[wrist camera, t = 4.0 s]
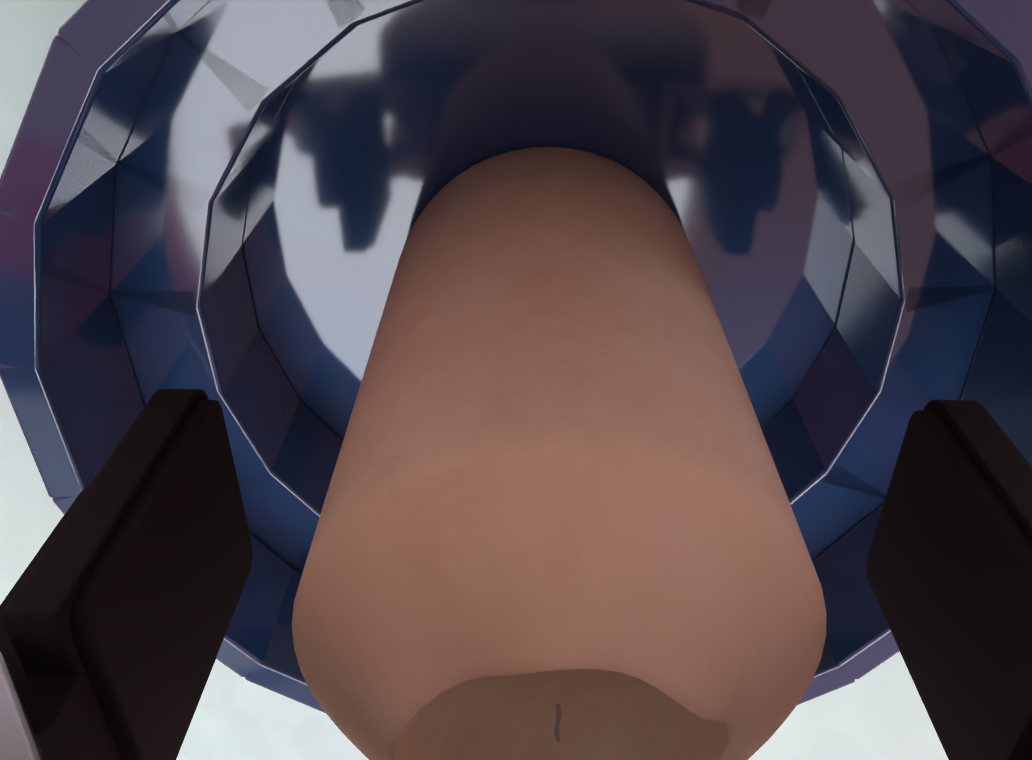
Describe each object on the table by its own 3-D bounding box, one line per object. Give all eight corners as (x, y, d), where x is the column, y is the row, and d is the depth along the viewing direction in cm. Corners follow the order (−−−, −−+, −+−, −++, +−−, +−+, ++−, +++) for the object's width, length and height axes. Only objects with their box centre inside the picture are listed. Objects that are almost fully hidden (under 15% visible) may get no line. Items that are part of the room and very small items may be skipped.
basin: (27, 355, 17) (-133, 523, 13) (413, -496, 10) (335, -712, 6) (607, 647, 22) (626, 840, 18) (1141, 189, 15) (1375, 328, 11)
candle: (610, 439, 18) (680, 976, 10) (362, 350, 17) (193, 869, 8) (749, 215, 15) (1020, 692, 7) (462, 89, 14) (359, 476, 6)
